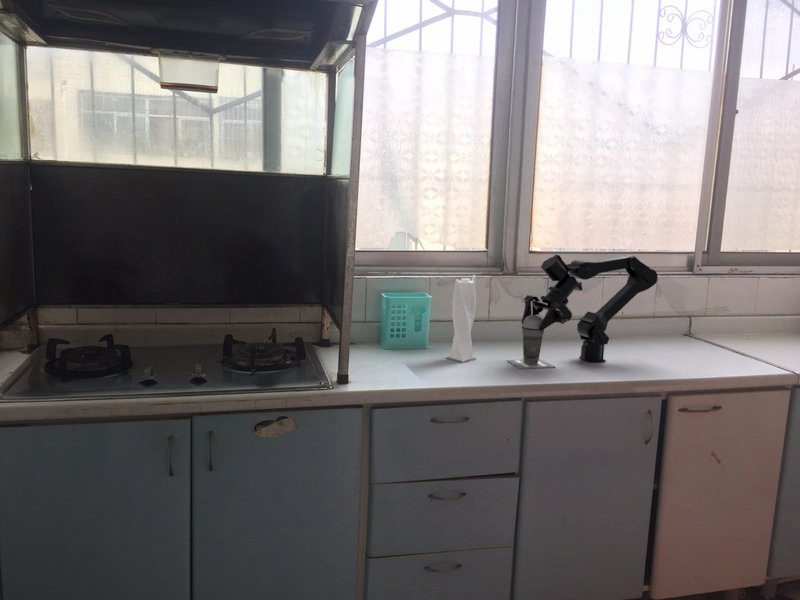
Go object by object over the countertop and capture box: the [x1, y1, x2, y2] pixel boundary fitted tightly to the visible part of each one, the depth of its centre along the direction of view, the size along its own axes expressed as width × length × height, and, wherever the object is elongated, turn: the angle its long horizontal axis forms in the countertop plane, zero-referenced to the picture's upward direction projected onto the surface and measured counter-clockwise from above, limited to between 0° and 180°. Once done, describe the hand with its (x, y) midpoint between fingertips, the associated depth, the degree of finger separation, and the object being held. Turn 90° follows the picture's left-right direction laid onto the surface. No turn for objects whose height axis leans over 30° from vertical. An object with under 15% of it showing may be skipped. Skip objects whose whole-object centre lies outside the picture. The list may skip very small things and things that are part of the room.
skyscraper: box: [445, 274, 477, 363], centre depth 221 cm, size 8×8×28 cm
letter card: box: [506, 358, 556, 370], centre depth 220 cm, size 12×10×1 cm
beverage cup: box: [521, 301, 545, 365], centre depth 218 cm, size 7×7×20 cm
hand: (531, 326), depth 217 cm, fingers open, 9 cm apart
